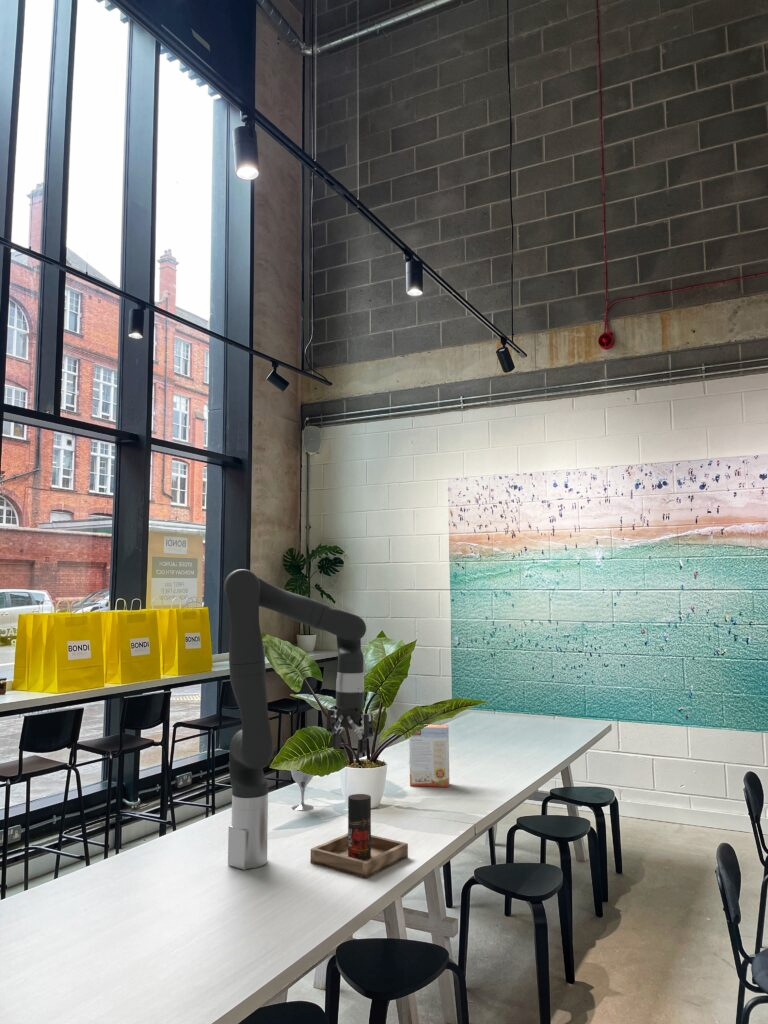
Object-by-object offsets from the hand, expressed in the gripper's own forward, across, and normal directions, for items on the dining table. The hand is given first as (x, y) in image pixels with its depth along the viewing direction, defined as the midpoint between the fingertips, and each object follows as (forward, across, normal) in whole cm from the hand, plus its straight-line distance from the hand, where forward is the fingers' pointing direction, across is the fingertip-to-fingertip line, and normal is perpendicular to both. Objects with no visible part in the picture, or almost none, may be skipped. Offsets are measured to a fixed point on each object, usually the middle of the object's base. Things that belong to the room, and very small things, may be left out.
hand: (349, 751), depth 201 cm
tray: (+27, +4, 0) cm, 27 cm away
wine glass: (+27, -40, +26) cm, 55 cm away
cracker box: (+26, -23, +74) cm, 82 cm away
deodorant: (+26, +4, 0) cm, 27 cm away
